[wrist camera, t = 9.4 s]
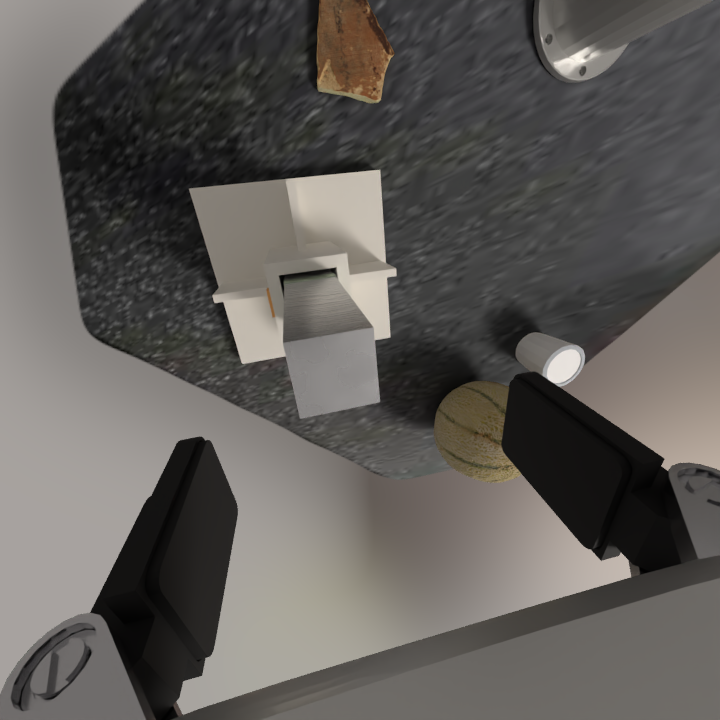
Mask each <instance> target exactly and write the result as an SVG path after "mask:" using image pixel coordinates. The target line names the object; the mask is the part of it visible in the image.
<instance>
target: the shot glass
mask: <svg viewBox="0 0 720 720" xmlns="http://www.w3.org/2000/svg"><path fill="white" fill-rule="evenodd" d="M515 356H516V358H517V360H518V361H519V362H520V363H521V364H522V365H524V366H525V367H526V368H527V369H528V370H530V371H531V372H532V371H536V372H538V373H539V374H541V375H542V376H544V377H545V378H547V379H548V380H550V381H551V382H553V383H554V384H556V385H557V386H558V387H560V386H563V385H566V384H568V383H569V382H571V381H572V380H573V379H574V378H575V377H576V376H577V375H578V374H579V373H580V371H581V369H582V367H583V365H584V361H585V354H584V351H583V349H581V348H580V347H579V346H577V345H574V344H572V343H569V342H566V341H563V340H560V339H557V338H554V337H551V336H548V335H545V334H542V333H537V332H534V333H530V334H528V335H526V336H525V337H524V338H522V340H521V341H520V342H519V343H518V345H517V348H516V355H515Z"/></svg>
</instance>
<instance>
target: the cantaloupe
mask: <svg viewBox="0 0 720 720" xmlns="http://www.w3.org/2000/svg"><path fill="white" fill-rule="evenodd" d="M508 392H509V387H508V386H505V385H503V384H499V383H496V382H489V381H474V382H470V383H466V384H463V385H461V386H460V387H458V388H456V389H454V390H453V391H451V392H450V393H449V394H448V395H447V396H446V397H445V398H444V399H443V400H442V402H441V403H440V405H439V408H438V409H437V412H436V416H435V424H434V437H435V442H436V445H437V448H438V450H439V452H440V453H441V455H442V457H443V458H444V459H445V460H446V462H447V463H448V464H449V465H450V466H451V467H452V468H454V469H455V470H456V471H458V472H460V473H461V474H464V475H466V476H468V477H471V478H474V479H477V480H480V481H484V482H491V483H492V482H494V483H497V482H498V483H499V482H504V481H508V480H511V479H514V478H516V477H518V476H520V475H521V473H520V471H519V470H518V469H517V468H516V467H515V466H514V464H513V463H512V462H511V461H510V460H509V458H508V457H507V456H506V455H505V454H504V452H503V450H502V446H501V441H502V434H503V427H504V420H505V413H506V406H507V399H508Z"/></svg>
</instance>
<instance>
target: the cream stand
mask: <svg viewBox="0 0 720 720" xmlns="http://www.w3.org/2000/svg"><path fill="white" fill-rule="evenodd" d="M189 191H190V194H191V198H192V201H193V204H194V207H195V211H196V214H197V217H198V221H199V224H200V227H201V230H202V234H203V237H204V240H205V244H206V247H207V250H208V253H209V257H210V260H211V263H212V267H213V270H214V273H215V276H216V280H217V283H218V286H219V288H218V289H217V290H216V292H215V293H214V294H213V295H212V296H213V300H214V303H219V302H223V303H224V306H225V309H226V313H227V316H228V319H229V322H230V326H231V329H232V332H233V336H234V339H235V342H236V345H237V349H238V352H239V355H240V359H241V362H242V364H245V363H250V362H256V361H261V360H267V359H273V358H278V357H284V356H286V355H285V351H284V346H283V317H284V280H285V275H286V274H293V273H300V272H307V271H314V270H321V269H328V268H329V269H330V270H331V271H332V273H334V274H335V275H336V278H337V279H338V281H339V282H340V283H341V285H342V286H343V287H344V289H345V290H346V291H347V293H348V294H349V295H350V297H351V298H352V299H353V301H354V302H355V303H356V305H357V306H358V307H359V309H360V310H361V311H362V313H363V314H364V315H365V317H366V318H367V319H368V321H369V322H370V323H371V325H372V326H373V327H374V337H375V340H379V339H384V338H390V322H389V306H388V290H387V277H393V276H396V268H394V267H392V266H390V265H389V264H387V263H386V258H385V242H384V226H383V210H382V194H381V177H380V170H372V171H362V172H352V173H342V174H332V175H322V176H312V177H301V178H291V179H281V180H271V181H261V182H251V183H241V184H231V185H221V186H210V187H200V188H190V189H189Z"/></svg>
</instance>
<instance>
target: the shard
mask: <svg viewBox="0 0 720 720" xmlns="http://www.w3.org/2000/svg"><path fill="white" fill-rule="evenodd" d="M317 31H318V33H317V38H318V40H317V54H316V57H317V67H318V77H317V89H318V91H320V92H327V93H332V94H338V95H344V96H349V97H352V98H354V99H357V100H361V101H365V102H367V103H378V102H379V101H380V99H381V95H382V87H383V81H384V76H385V71H386V69H387V66H388V63H389V60H390V59H391V57H393V55H394V54H395V53H394V51H393V49H392V48H391V46H390V43H389V42H388V41H387V38H386V35H385V34H384V32H383V30H382V29H381V28H380V26H379V25H378V22H377V19H376V17H375V15H374V14H373V12H372V10H371V8H370V6H369V4H368V2H367V0H320V1H319V21H318V29H317Z"/></svg>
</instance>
